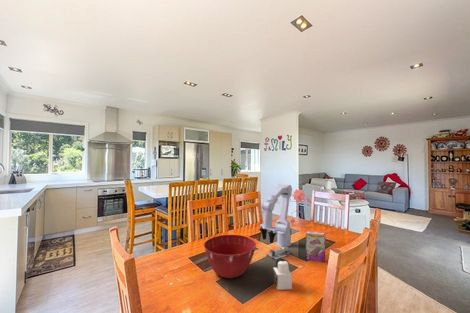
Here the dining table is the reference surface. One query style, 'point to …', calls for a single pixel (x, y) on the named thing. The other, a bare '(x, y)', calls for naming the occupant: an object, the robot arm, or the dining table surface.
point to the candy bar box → (315, 246)
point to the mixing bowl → (229, 254)
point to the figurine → (298, 196)
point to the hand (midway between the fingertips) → (267, 240)
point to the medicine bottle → (282, 275)
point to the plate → (274, 258)
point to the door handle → (279, 251)
